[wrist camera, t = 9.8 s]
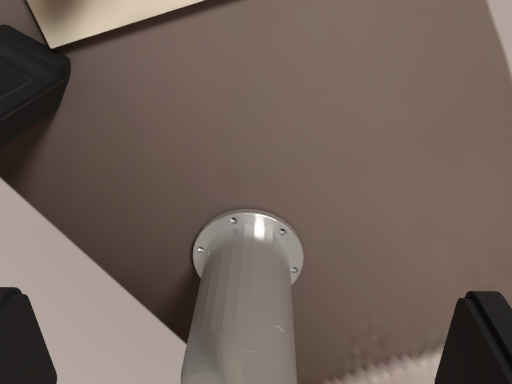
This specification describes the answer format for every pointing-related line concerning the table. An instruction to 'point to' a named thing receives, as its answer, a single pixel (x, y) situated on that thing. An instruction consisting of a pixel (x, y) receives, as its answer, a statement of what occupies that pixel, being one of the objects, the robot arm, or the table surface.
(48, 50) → the portable radio
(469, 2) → the table surface
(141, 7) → the dial board
